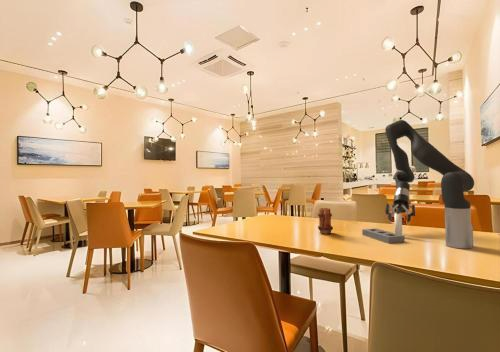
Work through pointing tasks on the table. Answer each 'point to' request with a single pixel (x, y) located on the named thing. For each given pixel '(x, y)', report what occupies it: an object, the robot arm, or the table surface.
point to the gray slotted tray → (383, 235)
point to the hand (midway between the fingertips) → (398, 220)
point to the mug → (325, 221)
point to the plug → (398, 222)
